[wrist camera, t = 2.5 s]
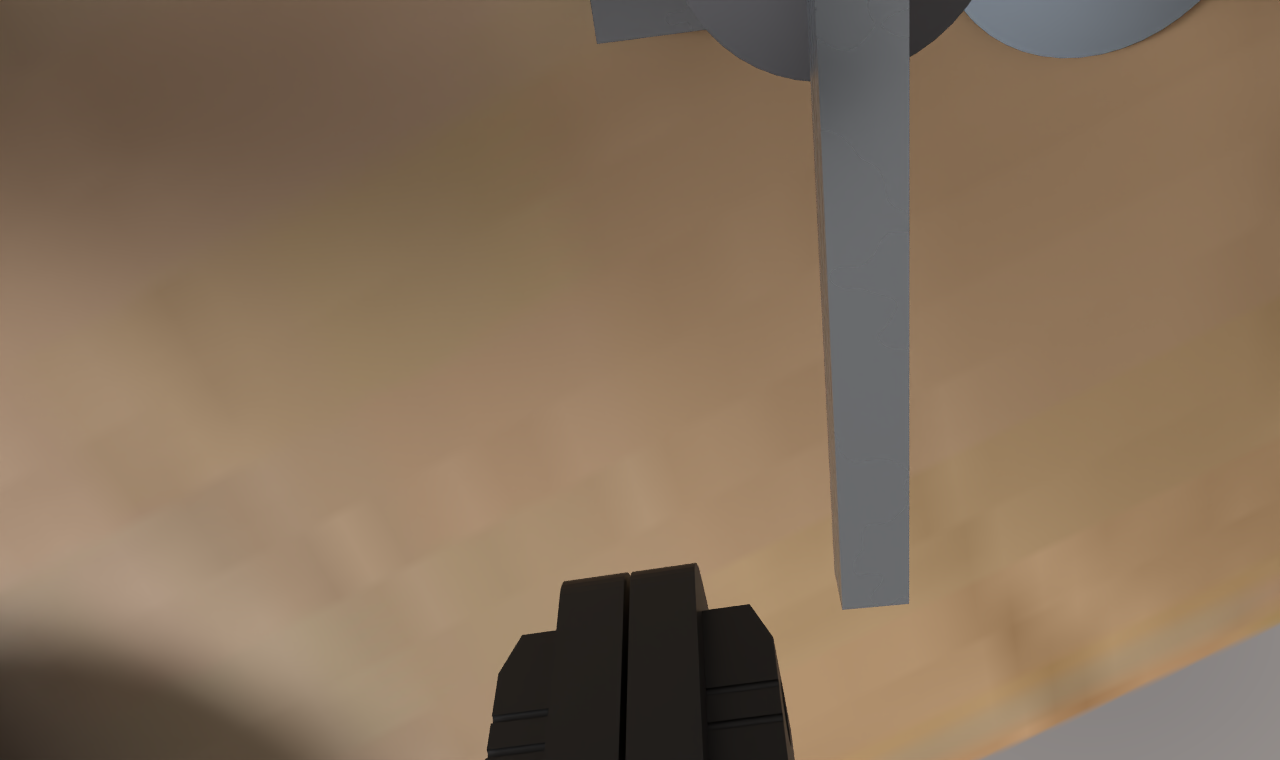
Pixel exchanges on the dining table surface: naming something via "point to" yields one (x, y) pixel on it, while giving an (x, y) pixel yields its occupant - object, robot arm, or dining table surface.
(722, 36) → the plug
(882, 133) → the gray square bar
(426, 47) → the dining table surface
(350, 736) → the dining table surface
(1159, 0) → the mat
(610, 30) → the socket
